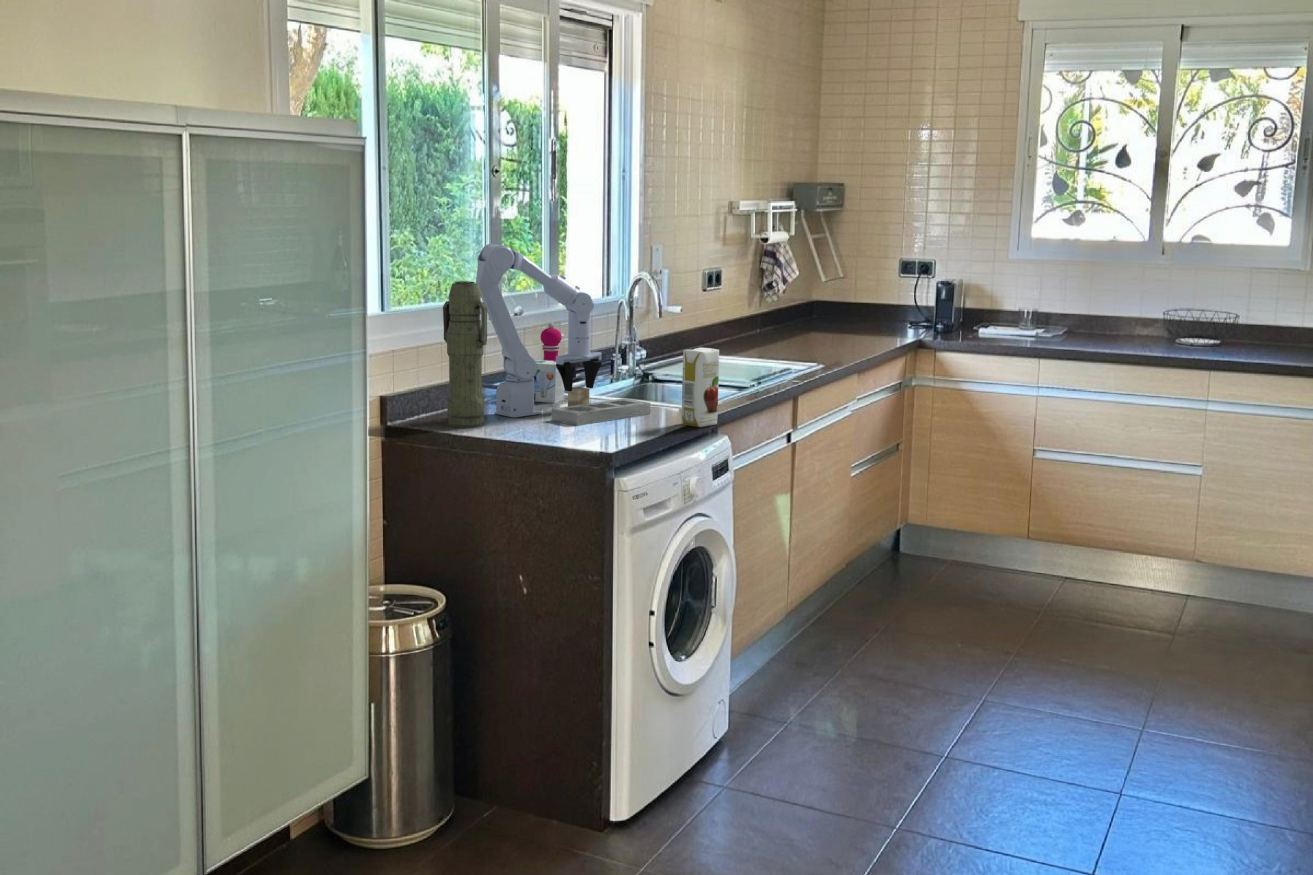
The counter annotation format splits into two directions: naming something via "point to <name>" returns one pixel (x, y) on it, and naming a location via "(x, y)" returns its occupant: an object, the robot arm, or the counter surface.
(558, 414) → the rail
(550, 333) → the pepper mill
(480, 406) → the thermos
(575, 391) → the peg
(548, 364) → the light bulb box
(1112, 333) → the counter surface
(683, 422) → the juice carton
